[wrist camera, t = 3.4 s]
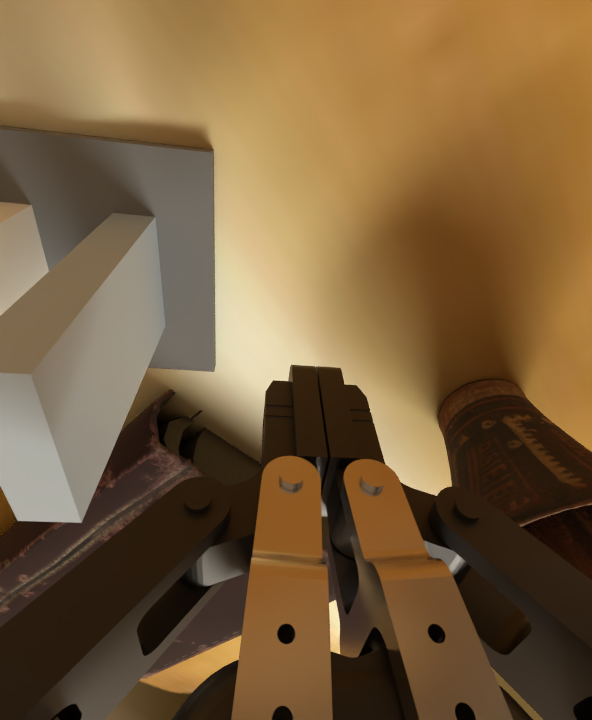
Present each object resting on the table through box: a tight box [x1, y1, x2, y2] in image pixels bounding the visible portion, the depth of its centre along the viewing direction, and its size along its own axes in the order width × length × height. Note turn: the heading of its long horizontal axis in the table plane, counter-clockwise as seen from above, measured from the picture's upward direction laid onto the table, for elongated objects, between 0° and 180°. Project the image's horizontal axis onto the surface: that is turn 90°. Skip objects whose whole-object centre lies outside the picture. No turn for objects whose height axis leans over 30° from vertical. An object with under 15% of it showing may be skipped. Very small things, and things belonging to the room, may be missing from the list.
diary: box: [0, 390, 336, 678], centre depth 29 cm, size 19×25×5 cm
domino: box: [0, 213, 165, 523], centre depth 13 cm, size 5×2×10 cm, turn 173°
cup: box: [439, 380, 592, 580], centre depth 20 cm, size 9×9×10 cm
